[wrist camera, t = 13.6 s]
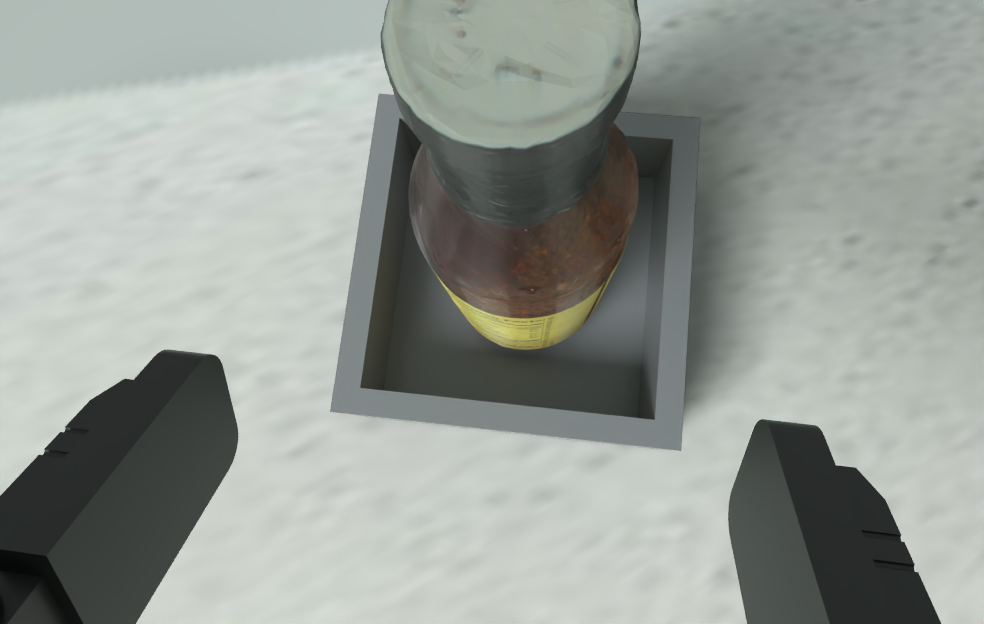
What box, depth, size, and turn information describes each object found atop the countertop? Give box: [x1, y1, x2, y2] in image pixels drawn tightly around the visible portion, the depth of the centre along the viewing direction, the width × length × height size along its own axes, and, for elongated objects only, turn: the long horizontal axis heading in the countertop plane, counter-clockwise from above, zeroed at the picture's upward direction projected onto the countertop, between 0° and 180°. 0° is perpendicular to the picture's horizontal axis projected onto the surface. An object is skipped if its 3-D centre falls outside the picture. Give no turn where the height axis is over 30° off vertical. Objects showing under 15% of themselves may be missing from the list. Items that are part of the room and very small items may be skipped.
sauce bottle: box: [381, 0, 641, 350], centre depth 20 cm, size 7×6×20 cm
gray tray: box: [330, 94, 700, 451], centre depth 28 cm, size 13×13×5 cm
